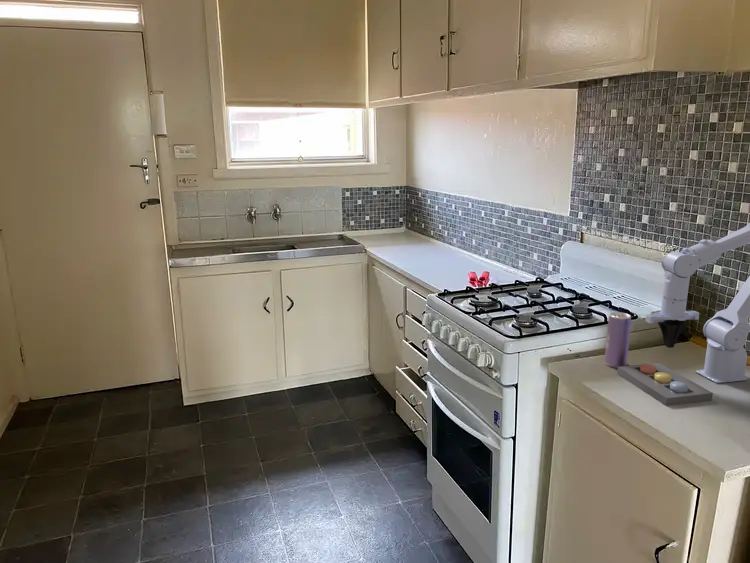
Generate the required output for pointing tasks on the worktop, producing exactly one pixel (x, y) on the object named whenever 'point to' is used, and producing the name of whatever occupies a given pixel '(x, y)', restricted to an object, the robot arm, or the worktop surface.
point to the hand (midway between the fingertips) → (668, 346)
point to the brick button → (647, 369)
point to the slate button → (678, 387)
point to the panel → (664, 385)
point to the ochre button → (662, 377)
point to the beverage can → (617, 339)
